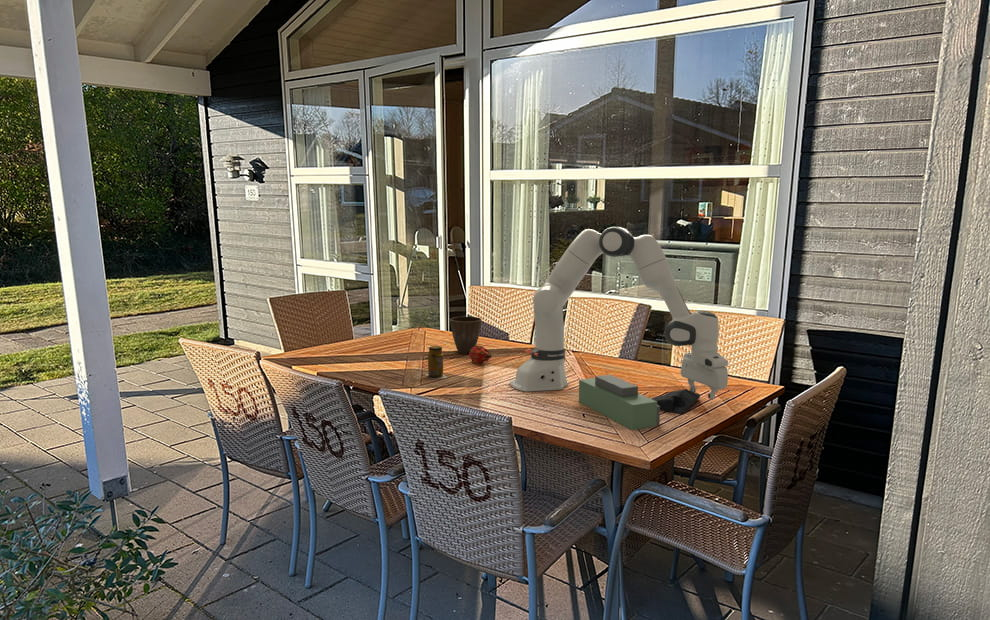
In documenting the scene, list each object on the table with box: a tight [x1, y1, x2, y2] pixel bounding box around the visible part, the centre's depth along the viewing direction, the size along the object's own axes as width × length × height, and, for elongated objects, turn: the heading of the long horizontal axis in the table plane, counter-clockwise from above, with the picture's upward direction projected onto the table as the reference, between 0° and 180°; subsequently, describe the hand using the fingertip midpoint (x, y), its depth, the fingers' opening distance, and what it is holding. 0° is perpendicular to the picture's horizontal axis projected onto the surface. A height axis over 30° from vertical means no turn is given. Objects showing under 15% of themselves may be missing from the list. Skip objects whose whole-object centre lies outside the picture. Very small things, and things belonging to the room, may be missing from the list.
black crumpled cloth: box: [651, 389, 701, 415], centre depth 224 cm, size 15×22×5 cm
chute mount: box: [578, 374, 661, 431], centre depth 212 cm, size 11×32×11 cm, turn 23°
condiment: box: [424, 345, 448, 380], centre depth 259 cm, size 7×8×12 cm
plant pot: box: [449, 316, 483, 355], centre depth 303 cm, size 15×15×16 cm
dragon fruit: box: [467, 344, 492, 365], centre depth 282 cm, size 8×8×12 cm
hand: (701, 395), depth 227 cm, fingers open, 8 cm apart
